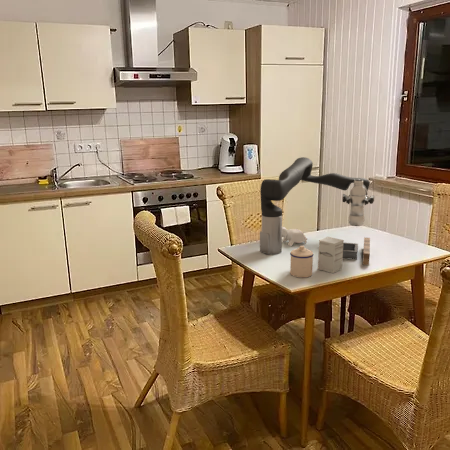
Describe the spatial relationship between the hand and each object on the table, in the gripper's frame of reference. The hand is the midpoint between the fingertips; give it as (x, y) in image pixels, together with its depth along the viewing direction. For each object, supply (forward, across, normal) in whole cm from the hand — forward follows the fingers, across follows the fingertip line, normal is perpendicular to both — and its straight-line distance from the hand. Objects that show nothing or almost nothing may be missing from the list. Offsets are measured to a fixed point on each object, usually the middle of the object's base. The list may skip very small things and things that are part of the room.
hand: (357, 202), depth 192 cm
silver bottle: (-2, 0, +11) cm, 11 cm away
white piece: (-13, -30, +25) cm, 41 cm away
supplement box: (+18, -8, +25) cm, 32 cm away
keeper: (-3, -5, +25) cm, 25 cm away
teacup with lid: (+26, -20, +25) cm, 41 cm away
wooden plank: (-3, +5, +25) cm, 25 cm away
